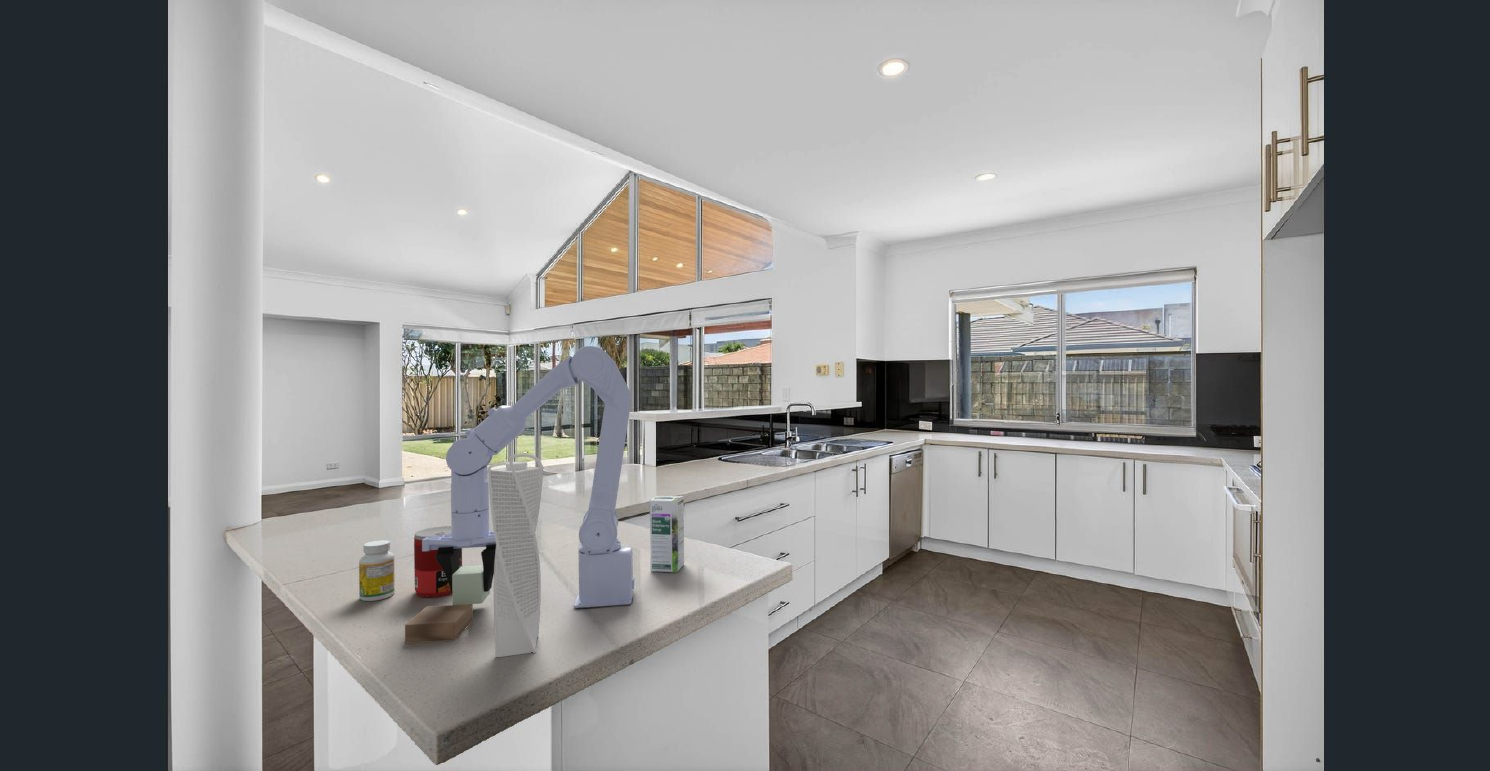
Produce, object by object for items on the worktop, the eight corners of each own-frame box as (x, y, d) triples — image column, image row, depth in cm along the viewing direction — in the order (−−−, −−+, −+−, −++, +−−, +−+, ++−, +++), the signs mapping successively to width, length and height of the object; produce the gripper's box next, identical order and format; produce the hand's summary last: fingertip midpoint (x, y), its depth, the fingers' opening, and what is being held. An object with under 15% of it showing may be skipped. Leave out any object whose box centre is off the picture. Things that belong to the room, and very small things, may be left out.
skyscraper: (543, 655, 78) (541, 453, 78) (484, 664, 76) (482, 455, 76) (546, 632, 85) (544, 447, 86) (493, 639, 83) (491, 449, 83)
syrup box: (649, 572, 113) (648, 499, 113) (658, 563, 119) (658, 494, 119) (677, 573, 112) (676, 500, 112) (685, 564, 118) (684, 494, 118)
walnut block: (472, 622, 90) (472, 604, 90) (455, 642, 83) (455, 622, 83) (426, 625, 89) (426, 606, 89) (405, 645, 82) (404, 624, 83)
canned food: (442, 599, 100) (442, 537, 100) (403, 596, 101) (403, 535, 101) (472, 584, 107) (471, 526, 107) (435, 582, 109) (434, 525, 109)
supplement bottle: (391, 599, 100) (391, 545, 100) (355, 603, 98) (355, 548, 98) (397, 589, 105) (396, 537, 105) (363, 593, 103) (362, 541, 103)
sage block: (489, 593, 97) (489, 564, 97) (481, 603, 93) (481, 572, 93) (461, 595, 96) (461, 566, 97) (452, 605, 92) (452, 574, 92)
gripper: (413, 517, 90) (414, 602, 90) (509, 512, 92) (510, 596, 92) (431, 508, 97) (432, 587, 97) (520, 503, 99) (521, 581, 99)
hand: (471, 590), depth 95 cm, fingers closed on sage block, 4 cm apart
